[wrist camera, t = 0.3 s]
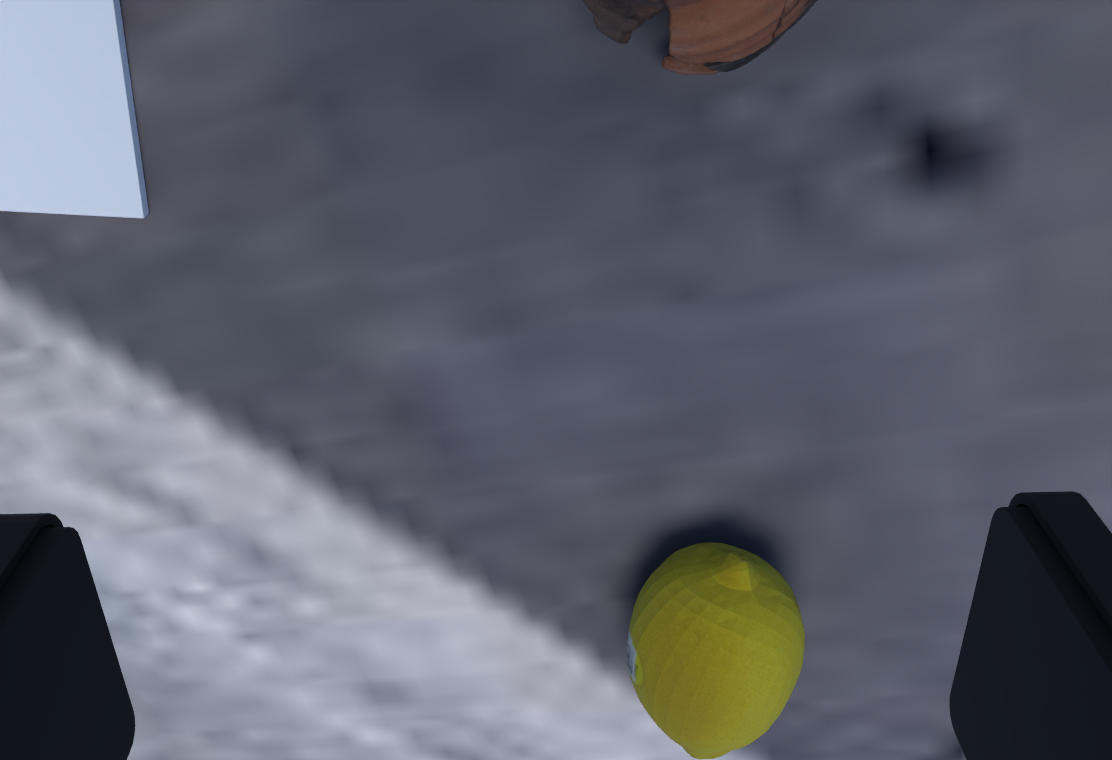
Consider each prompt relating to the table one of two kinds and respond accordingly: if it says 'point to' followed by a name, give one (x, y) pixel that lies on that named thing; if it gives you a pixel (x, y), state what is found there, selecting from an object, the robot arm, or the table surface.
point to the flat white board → (67, 111)
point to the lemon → (715, 647)
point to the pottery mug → (704, 28)
